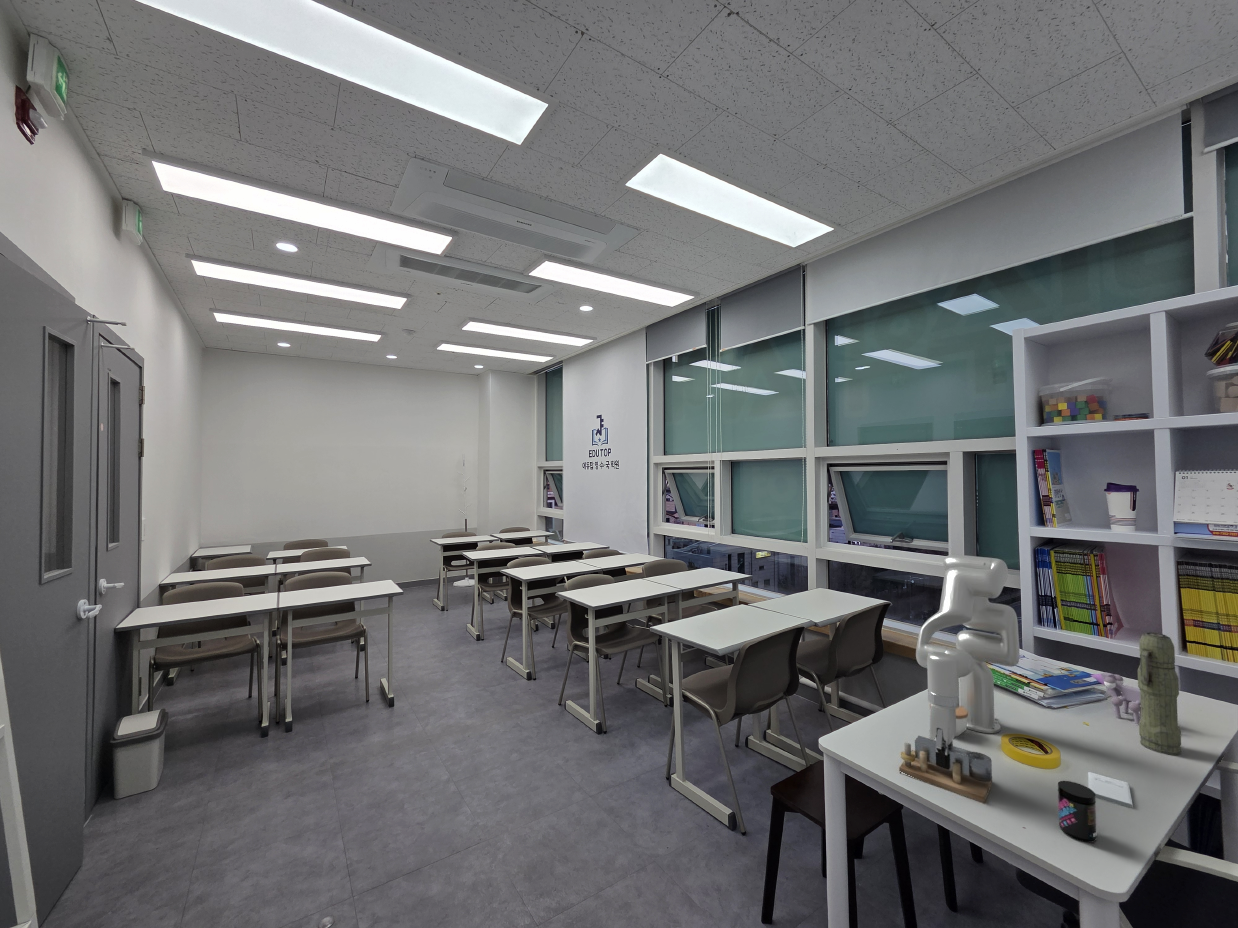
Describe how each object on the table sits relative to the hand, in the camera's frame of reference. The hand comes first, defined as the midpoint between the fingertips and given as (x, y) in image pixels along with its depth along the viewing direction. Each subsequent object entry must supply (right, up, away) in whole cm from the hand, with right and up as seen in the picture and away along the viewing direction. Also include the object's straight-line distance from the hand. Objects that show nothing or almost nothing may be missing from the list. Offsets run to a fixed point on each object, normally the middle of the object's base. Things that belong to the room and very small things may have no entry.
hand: (944, 763), depth 144 cm
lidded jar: (+18, -5, +26) cm, 32 cm away
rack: (0, -4, 0) cm, 4 cm away
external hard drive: (+40, -4, -7) cm, 41 cm away
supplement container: (+17, -3, -23) cm, 29 cm away
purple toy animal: (+87, -5, +35) cm, 94 cm away
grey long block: (+1, 0, -1) cm, 2 cm away
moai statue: (+77, -4, +15) cm, 78 cm away
